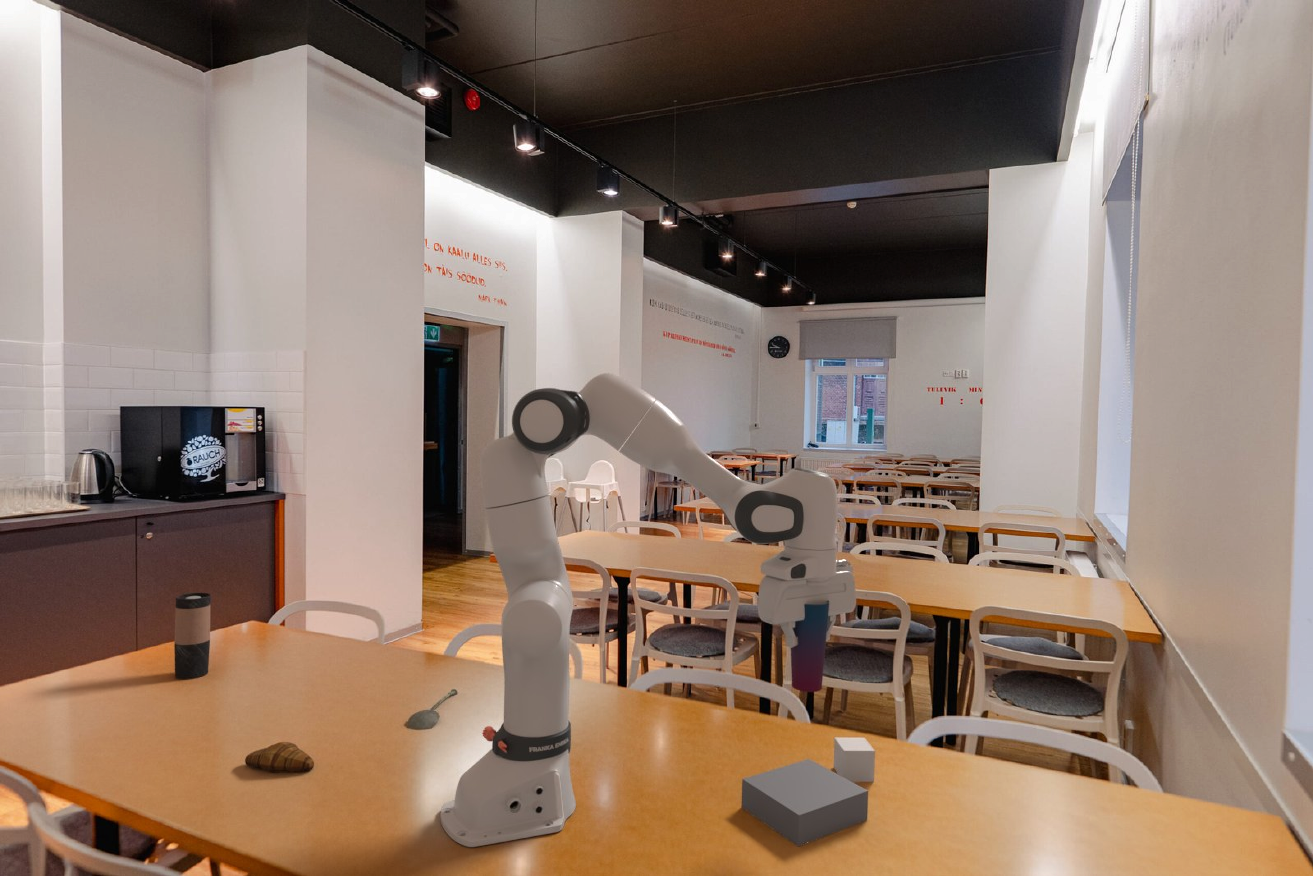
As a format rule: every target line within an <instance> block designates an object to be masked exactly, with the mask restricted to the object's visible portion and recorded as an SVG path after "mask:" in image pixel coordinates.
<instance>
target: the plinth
mask: <svg viewBox="0 0 1313 876" xmlns="http://www.w3.org/2000/svg"><path fill="white" fill-rule="evenodd" d="M868 804H869V790H868V789H866V788H864V787H862V786H860V785H858V784H856V782H851V781H849V780H847V779H846V778H844V777H842V776H840V775H838V773H837V772H834V771H832V770H831V769H829V768H827V767H825V766H823V765H822V764H819V762H818V763H817V762H816V761H814V760H812V759H810V758H807V759H804V760H800V761H797V762H794V763H791V764H787V765H784V766H781V767H777V768H774V769H771V770H767V771H764V772H761V773H757V774H754V775H753V774H752V775H751V776H747V777H744V778H742V780H741V805H740V806H741V809H743V808H744V809H743V810H744V811H746V810H747V811H748V812H747V811H746V812H747V813H749V814H750V815H752V816H753V815H754V816H753V817H754V818H756V819H757V818H758V819H757V820H759V819H760V820H761V821H760V820H759V821H760V822H762V823H763V824H765V825H766V826H768V827H769V828H771V829H772V830H773V831H775V832H776V833H777V834H779V833H780V834H779V835H781V836H782V837H783V838H785V839H786V838H787V840H788V841H790V842H791V843H792V844H793V845H795V846H797V847H800V846H803V844H804V845H806V844H808V843H807V842H809V843H811V842H814V841H816V839H817V840H819V839H822V838H824V837H827V836H830V835H832V834H835V833H838V832H840V831H843V830H846V829H848V828H851V827H853V826H856V825H859V824H861V823H863V822H865V821H868V811H869V810H868V808H869V805H868ZM818 838H819V839H818Z"/></svg>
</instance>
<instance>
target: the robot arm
mask: <svg viewBox="0 0 1313 876" xmlns="http://www.w3.org/2000/svg"><path fill="white" fill-rule="evenodd" d="M511 428H512V433H511V434H509V435H507V436H503V437H499V438H497V439H494V440H492V441H491V442H489V443H487V445H485V446H484V448H483V449H482V450H481V453H480V454H479V455H480V456H479V477H480V489H481V490H480V491H481V498H482V503H483V509H484V512H485V518H486V522H487V528H488V533H489V537H490V543H491V548H492V553H493V555H494V558H495V559H496V561H497V564H498V566H499V569H500V573H501V575H502V578H503V582H504V585H505V588H506V591H507V602H506V604H505V606H504V608H503V610H502V614H501V647H502V650H501V653H502V665H503V676H504V679H503V680H504V689H503V691H504V693H503V722H502V724H501V726H500V728H499V729H498V730H497V731H496V729H494V727H492V726H491V725H488V726H485V727H484V728H483V730H482V737H483V738H484V739H485V740H486V741H487V742H492V743H491V749H489V751H488V752H487V753H485V754H484V755H483V756H482V757H481V758H480V759H479V760H478V761H477V762H475V763H474V764H473V765H472V766H470V767H469V768H468V769H467V770H466V771H465V772H464V773H463V774H462V775H461V776H460V778H459V780H458V782H457V786H456V789H455V795H454V796H455V797H454V799H452V800H451V801H448V802H444V803H443V805H442V806H441V809H440V816H439V818H440V819H439V820H440V824H441V826H442V828H443V830H444V831H445V832H446V834H447V835H448V836H449V837H450V839H452V840H453V841H455V842H456V843H457V844H460V845H462V846H464V847H467V848H476V847H481V846H486V845H493V844H498V843H503V842H509V841H514V840H519V839H527V838H531V837H532V838H533V837H535V836H536V837H537V836H542V835H543V836H544V835H547V834H548V835H549V834H553V833H558V832H560V831H561V830H563V829H564V825H565V821H567V819H568V818H569V817H570V816H571V815H572V814H573V813H574V812H575V809H576V806H577V802H576V801H577V800H576V798H575V794H574V790H573V785H572V778H571V769H570V757H569V756H570V752H571V749H572V748H571V745H572V727H571V726H572V724H571V722H570V720H569V719H570V718H569V715H570V689H571V688H570V687H571V686H570V685H571V681H570V680H571V676H570V627H571V619H572V614H573V610H574V596H573V592H572V587H571V584H570V579H569V576H568V575H569V574H568V572H567V567H566V565H565V560H564V557H563V553H562V550H561V549H562V548H561V545H560V541H559V539H558V534H557V528H556V523H555V520H554V513H553V510H552V509H553V508H552V503H551V499H550V494H549V490H548V485H547V481H546V472H545V471H546V470H545V468H546V467H545V466H546V462H547V460H548V459H549V458H551V457H553V456H554V455H556V454H558V453H562V452H564V451H566V450H568V449H569V448H571V447H572V446H573V445H574V444H575V443H576V442H577V441H578V439H579V438H580V437H582V436H585V435H588V436H589V435H591V436H595V437H597V438H599V439H600V440H602V441H604V442H605V443H607V445H609V446H611V447H612V448H613V449H615V450H616V451H618V452H619V453H620V454H621V455H623V456H625V457H626V458H627V459H629V460H631V461H632V462H634V463H636V464H638V465H640V466H642V467H644V468H646V469H648V470H650V471H652V472H656V473H662V474H667V475H670V476H673V477H677V478H678V479H680V480H683V481H684V482H686V484H688V485H689V486H691V487H693V488H694V489H695V490H697V491H698V492H700V493H701V494H702V495H704V496H705V497H706V498H707V499H710V500H711V501H712V502H713V503H714V504H715V505H716V506H718V507H719V508H720V509H721V511H722V513H723V515H724V517H725V518H726V521H727V522H728V524H729V525H730V526H731V528H733V530H734V531H735V532H737V533H738V534H739V535H741V537H743V538H744V539H745V540H747V541H748V542H751V543H753V544H757V545H767V544H773V543H780V542H784V549H783V550H782V551H780V552H779V553H777V554H775V555H773V556H772V557H769V558H768V559H766V560H764V561H762V562H761V564H760V572H761V574H762V575H765V576H763V577H762V579H761V581H760V583H759V585H758V586H759V588H758V599H757V614H758V617H759V618H760V620H761V621H762V622H764V623H767V624H770V625H775V626H776V625H780V628H781V629H782V632H783V634H784V636H785V641H784V642H785V643H784V644H785V646H786V647H788V648H790V649H791V648H792V647H797V646H798V645H799V636H795V634H794V631H793V628H795V621H801V620H804V618H805V608H804V604H812V605H819V604H826V603H827V601H828V600H829V612H828V624H827V635H826V642H827V641H830V639H831V631H832V629H833V627H834V625H835V623H836V621H837V619H836V618H837V615H842V614H848V613H852V612H854V610H855V608H856V607H857V594H856V592H857V591H856V582H855V577H854V575H853V573H854V572H853V571H854V568H853V566H852V564H851V562H849V561H848V560H847V559H844V558H843V559H839V560H838V555H837V554H838V545H837V540H836V529H837V526H838V524H839V520H838V519H839V514H838V513H839V512H838V511H839V505H838V490H837V486H836V485H837V484H836V481H835V480H834V478H833V477H832V476H831V475H830V474H828V473H826V472H823V471H818V470H814V469H809V468H804V467H795V468H794V467H793V468H791V469H790V470H789V471H788V472H786V473H785V474H784V475H781V476H779V477H778V478H776V479H774V480H771V481H769V482H766V483H761V482H759V481H754V480H749V479H748V480H747V479H743V478H741V477H739V476H737V475H735V473H733V472H731V471H730V470H729V469H727V468H726V467H724V466H723V465H721V463H719V462H717V461H716V460H715V459H714V458H712V457H711V456H709V455H708V454H707V453H706V452H705V451H703V449H702V448H701V447H700V446H699V445H698V444H697V443H696V441H695V439H694V438H693V437H692V435H691V433H690V431H689V429H688V427H687V426H686V425H685V423H683V421H682V420H681V419H680V418H679V417H678V416H677V414H675V413H674V412H673V411H672V410H671V409H670V408H668V407H667V406H666V405H665V404H664V403H662V402H661V401H660V400H659V399H657V398H655V397H654V396H653V395H652V394H651V393H648V392H647V391H645V390H644V389H642V388H641V387H639V386H637V385H635V384H633V383H632V382H630V381H628V380H627V379H624V378H622V377H620V376H617V375H616V374H613V373H609V372H606V373H605V372H604V373H600V374H597V376H594V377H593V378H592V379H590V380H589V381H588V382H587V383H586V384H585V385H584V386H583V388H582V389H581V390H580V391H578V392H577V391H573V390H565V389H559V388H554V387H544V388H538V389H533V390H532V391H529V392H527V393H526V394H524V395H523V396H522V397H520V399H519V400H518V402H517V403H516V405H515V407H514V409H513V411H512V416H511Z"/></svg>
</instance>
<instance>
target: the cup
mask: <svg viewBox="0 0 1313 876" xmlns="http://www.w3.org/2000/svg"><path fill="white" fill-rule="evenodd" d="M804 608H805V618H804V620H801V621H795V628H793V631H794V634H795V636H799V645H798V646H797V647H792V648H791V647H790V669H791V672H790V673H791V686H792V688H794V690H797V691H800V692H807V693H816V692H820V691H821V690H822V687H823V678H824V677H823V676H824V668H825V666H824V665H825V655H826V644H827V643H826V642H827V641H826V635H827V624H828V612H829V600H828V601H827V603H826V604H819V605H812V604H804Z"/></svg>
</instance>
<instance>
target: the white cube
mask: <svg viewBox="0 0 1313 876" xmlns="http://www.w3.org/2000/svg"><path fill="white" fill-rule="evenodd" d="M833 738H834V740H833V741H834V742H833V743H834V746H833V769H834V770H835V771H836V772H835V773H836V774H838V775H840V776H842V777H844V778H846V779H847V780H849V781H851V782H853V783H875V766H876V765H875V763H876V750H875V748H873V747H872V745H871V744H870V742H868V740H867V739H866V738H865V737H836V736H835V737H833Z"/></svg>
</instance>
